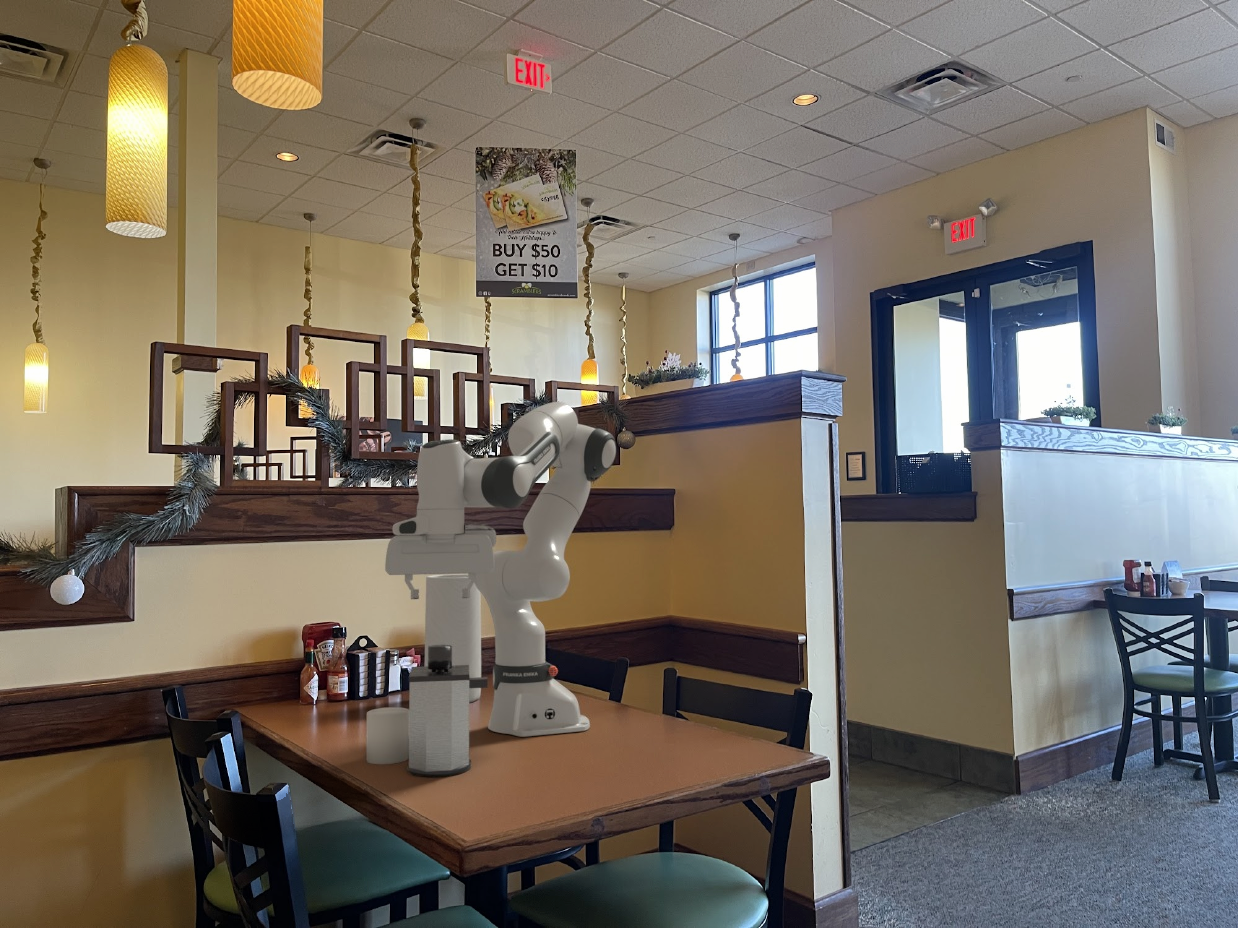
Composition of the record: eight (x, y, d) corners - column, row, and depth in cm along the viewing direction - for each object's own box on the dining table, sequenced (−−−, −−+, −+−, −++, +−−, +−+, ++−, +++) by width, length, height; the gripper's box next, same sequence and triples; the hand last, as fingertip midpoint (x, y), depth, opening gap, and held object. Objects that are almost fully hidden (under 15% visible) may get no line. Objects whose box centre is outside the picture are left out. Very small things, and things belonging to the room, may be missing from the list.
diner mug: (410, 748, 182) (410, 703, 183) (408, 762, 172) (408, 714, 172) (369, 750, 181) (369, 705, 181) (364, 765, 170) (365, 717, 171)
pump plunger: (451, 756, 170) (452, 644, 172) (451, 762, 166) (451, 647, 167) (427, 757, 170) (428, 644, 171) (426, 763, 165) (427, 648, 166)
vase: (425, 695, 237) (425, 574, 238) (480, 693, 239) (480, 573, 241) (423, 706, 223) (424, 578, 224) (482, 704, 225) (482, 577, 227)
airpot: (405, 778, 161) (406, 676, 162) (409, 761, 172) (409, 666, 173) (488, 774, 163) (488, 674, 165) (486, 757, 175) (486, 663, 176)
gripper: (495, 523, 175) (495, 595, 174) (387, 525, 172) (386, 598, 171) (496, 524, 169) (497, 598, 168) (384, 525, 165) (384, 601, 165)
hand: (440, 598), depth 169 cm, fingers open, 8 cm apart
